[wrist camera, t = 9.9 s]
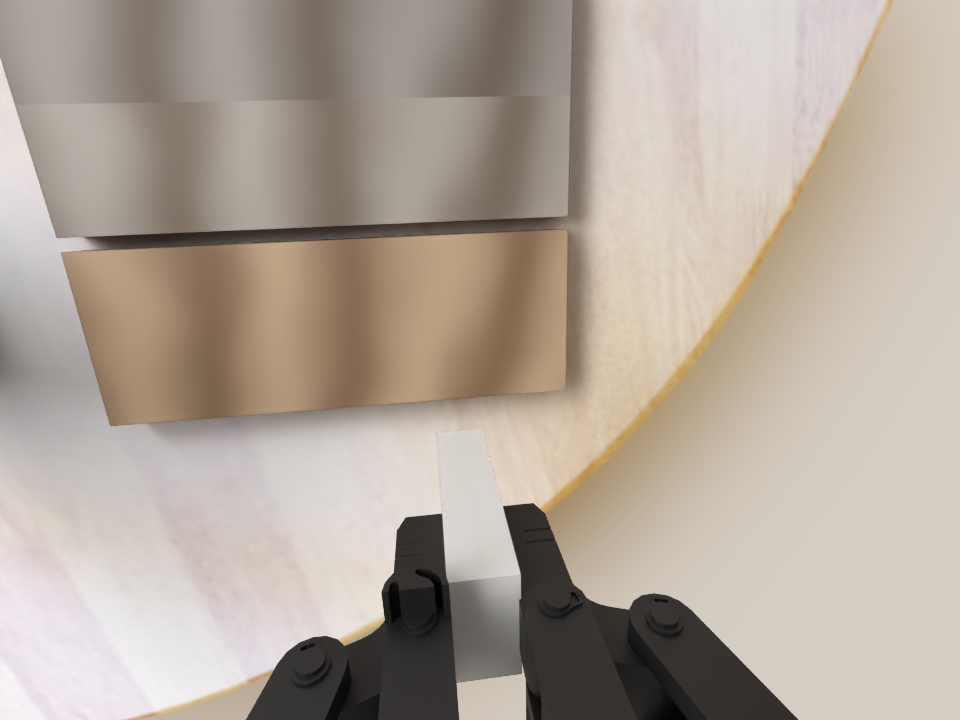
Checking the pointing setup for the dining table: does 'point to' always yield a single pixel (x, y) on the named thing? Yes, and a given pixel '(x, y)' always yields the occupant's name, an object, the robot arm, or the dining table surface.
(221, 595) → the dining table surface
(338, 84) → the laid strip
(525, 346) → the plank
